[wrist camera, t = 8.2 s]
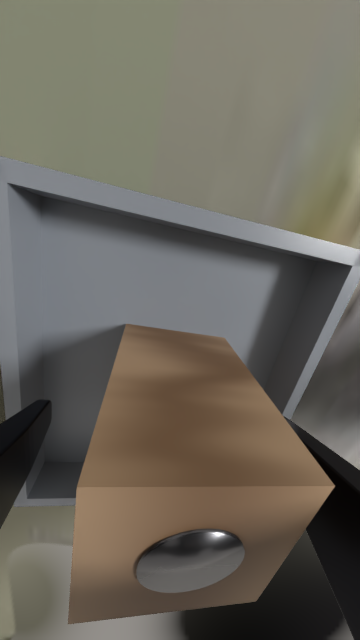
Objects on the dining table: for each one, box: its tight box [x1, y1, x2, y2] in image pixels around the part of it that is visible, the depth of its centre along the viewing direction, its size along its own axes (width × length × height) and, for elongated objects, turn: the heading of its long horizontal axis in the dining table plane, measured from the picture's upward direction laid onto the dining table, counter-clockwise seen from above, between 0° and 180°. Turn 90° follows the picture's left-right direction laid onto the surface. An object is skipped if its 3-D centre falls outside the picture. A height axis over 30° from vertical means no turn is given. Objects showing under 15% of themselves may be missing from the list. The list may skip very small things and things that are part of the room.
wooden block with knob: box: [68, 324, 335, 624], centre depth 8 cm, size 5×5×7 cm
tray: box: [0, 156, 360, 507], centre depth 10 cm, size 13×15×2 cm
